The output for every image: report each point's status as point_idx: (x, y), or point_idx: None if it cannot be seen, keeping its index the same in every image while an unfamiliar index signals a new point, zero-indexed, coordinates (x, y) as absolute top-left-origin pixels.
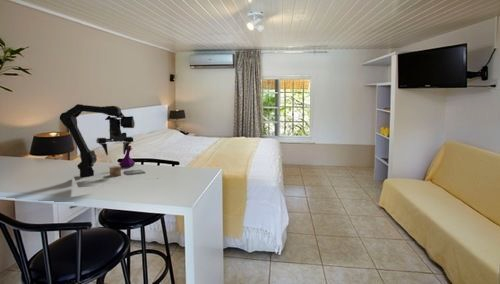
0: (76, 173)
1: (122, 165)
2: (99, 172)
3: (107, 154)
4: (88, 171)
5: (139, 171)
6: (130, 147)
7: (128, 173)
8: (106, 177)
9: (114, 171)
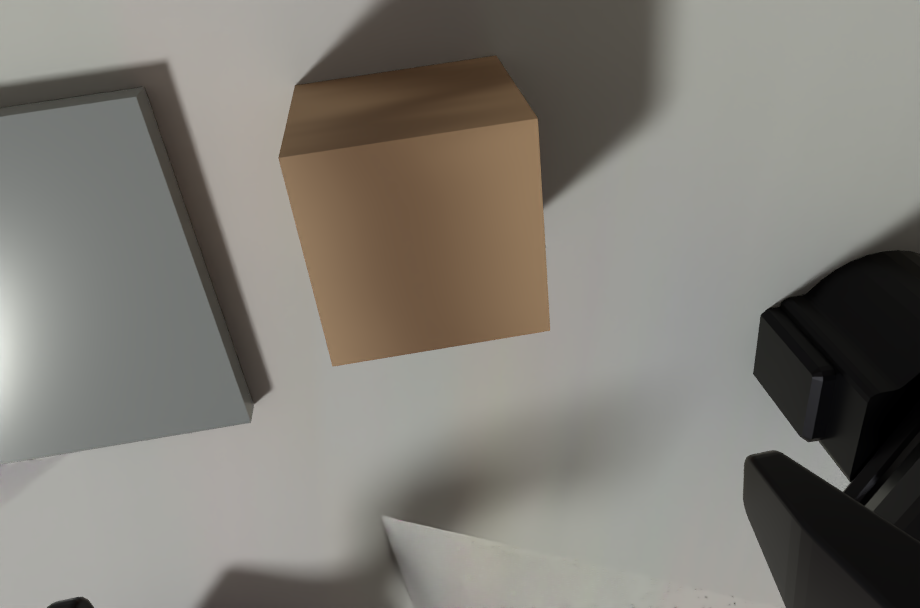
0: None
1: None
2: (634, 518)
3: (776, 476)
4: (913, 311)
5: None
6: None
7: (112, 113)
8: (600, 13)
9: (439, 98)
